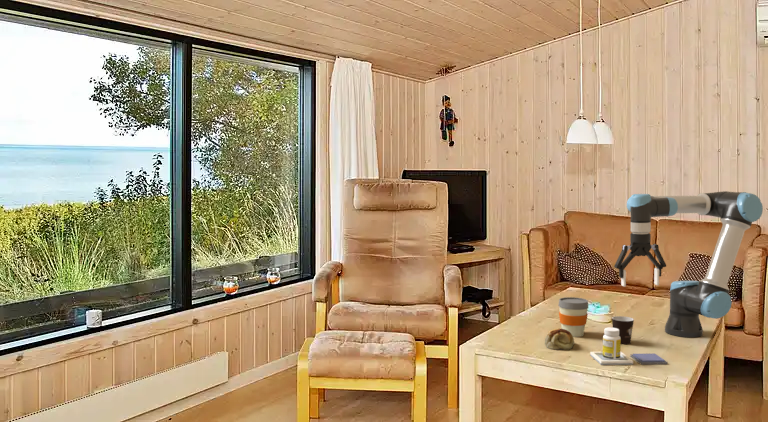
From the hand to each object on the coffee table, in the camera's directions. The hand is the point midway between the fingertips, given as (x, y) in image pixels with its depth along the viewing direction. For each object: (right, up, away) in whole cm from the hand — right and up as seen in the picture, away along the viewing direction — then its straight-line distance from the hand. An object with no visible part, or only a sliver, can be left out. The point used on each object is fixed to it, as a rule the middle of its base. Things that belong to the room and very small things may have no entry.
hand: (640, 285), depth 267 cm
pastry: (-31, -26, +5) cm, 40 cm away
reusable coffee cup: (-20, -24, +23) cm, 39 cm away
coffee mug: (-2, -25, +11) cm, 27 cm away
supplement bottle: (-16, -26, -14) cm, 34 cm away
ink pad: (-2, -27, -14) cm, 31 cm away
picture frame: (-16, -27, -14) cm, 34 cm away
